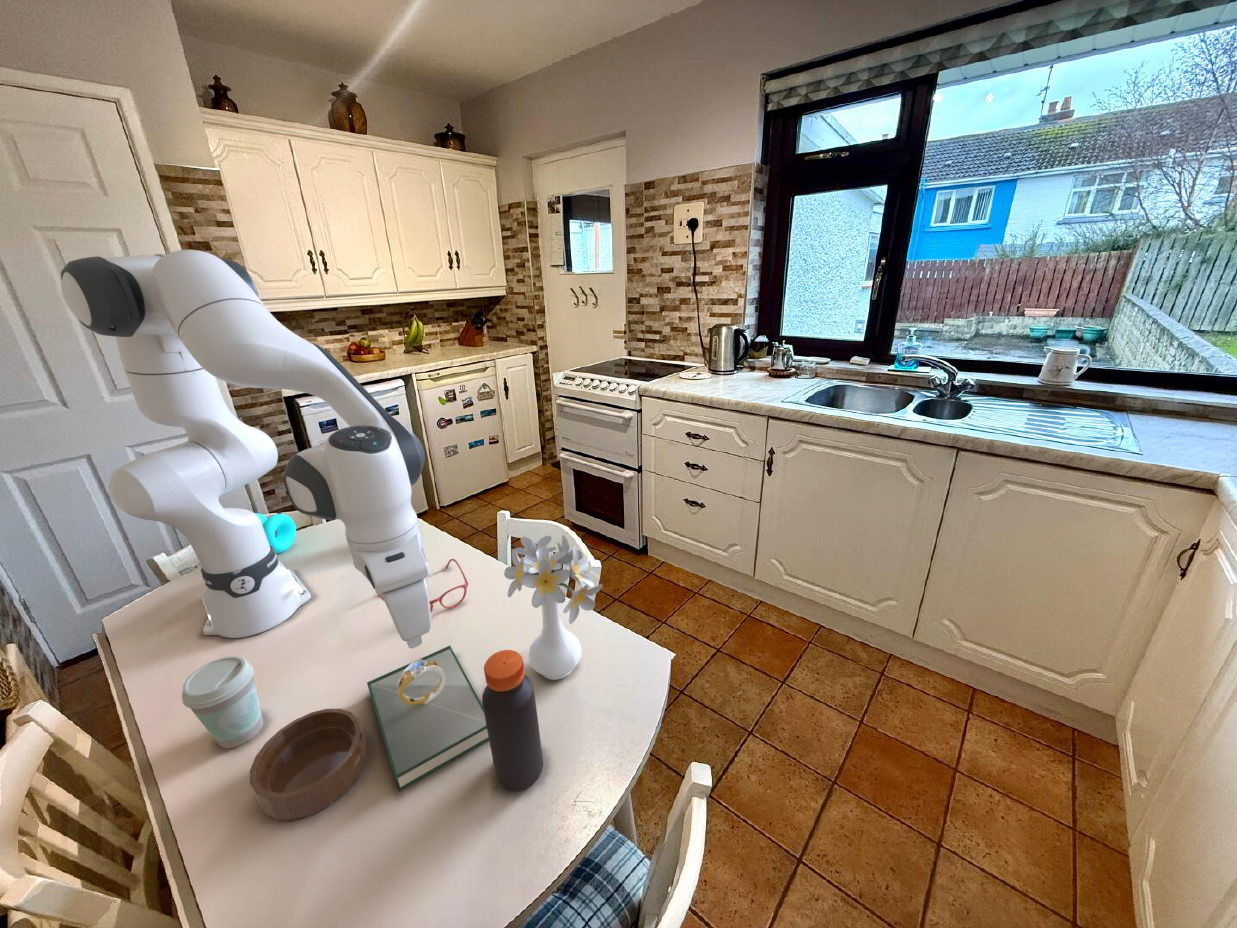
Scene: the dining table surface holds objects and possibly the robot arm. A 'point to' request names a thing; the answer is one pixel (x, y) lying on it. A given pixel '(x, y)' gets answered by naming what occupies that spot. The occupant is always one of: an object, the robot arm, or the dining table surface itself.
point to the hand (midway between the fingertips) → (406, 624)
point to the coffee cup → (225, 700)
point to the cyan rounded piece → (279, 531)
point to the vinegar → (512, 721)
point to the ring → (416, 670)
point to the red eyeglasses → (448, 590)
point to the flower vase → (552, 601)
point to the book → (428, 719)
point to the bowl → (308, 764)
